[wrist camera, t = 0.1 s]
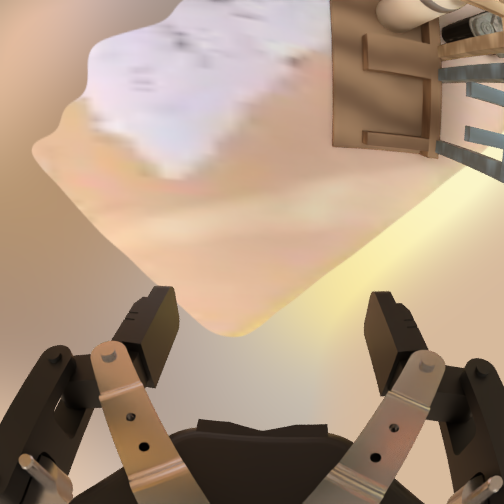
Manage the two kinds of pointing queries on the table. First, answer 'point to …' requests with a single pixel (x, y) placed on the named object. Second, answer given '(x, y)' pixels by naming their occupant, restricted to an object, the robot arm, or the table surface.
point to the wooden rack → (408, 84)
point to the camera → (473, 28)
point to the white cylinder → (412, 12)
